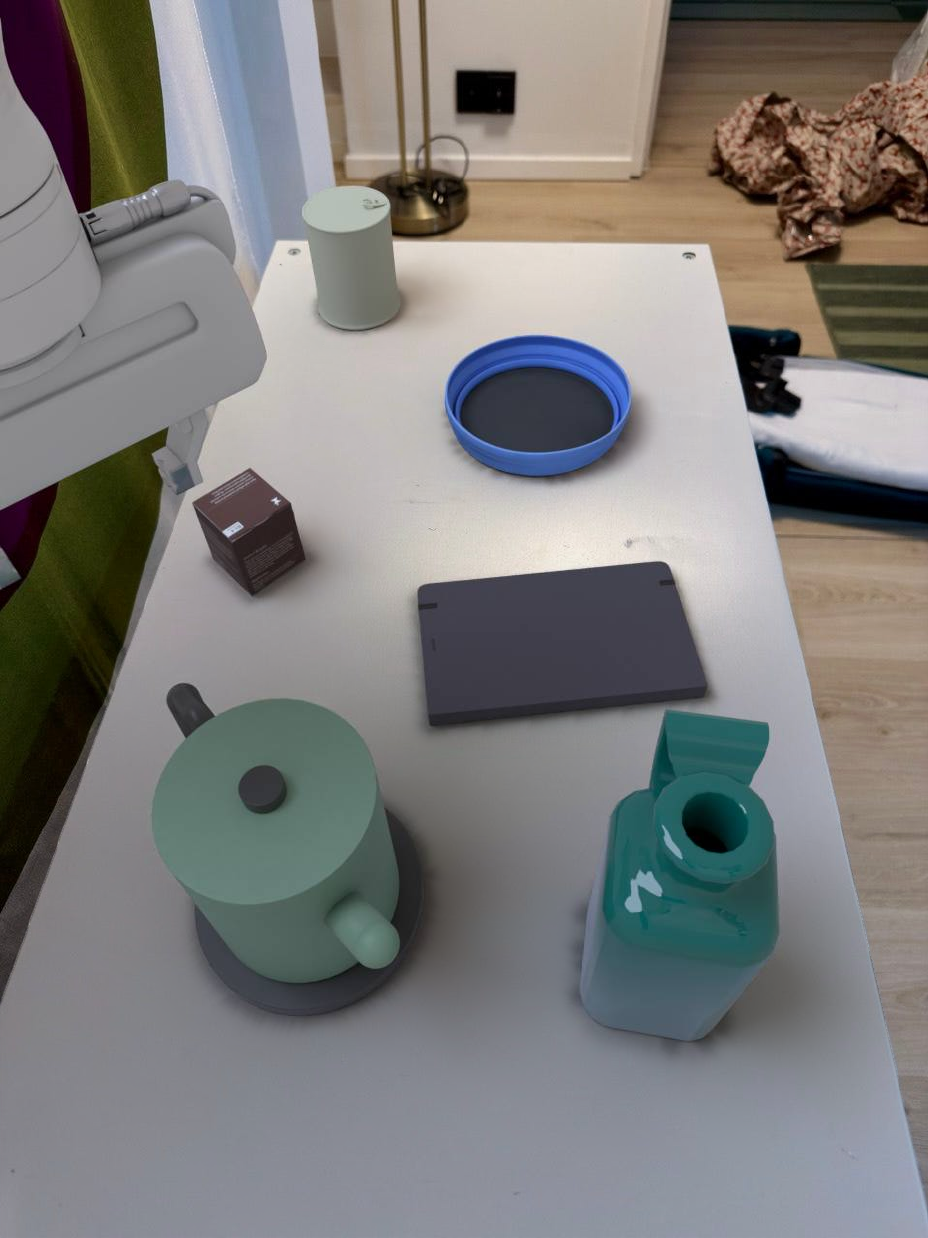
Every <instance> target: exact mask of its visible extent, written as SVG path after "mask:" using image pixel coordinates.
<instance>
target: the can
mask: <svg viewBox="0 0 928 1238" xmlns="http://www.w3.org/2000/svg"><path fill="white" fill-rule="evenodd" d="M301 215H302V216H301V217H302V219H303V223H304V228H305V233H306V238H307V243H308V244H307V245H308V248H309V254H310V259H311V265H312V271H313V277H314V282H315V288H316V295H317V298H318V299H317V301H318V306H317V307H318V313H319V316H320V317H321V319H322V320H323V321H324V322H325V323H326V324H328V325H330V326H332V327H335V328H338V329H341V330H345V331H363V330H364V331H366V330H369V329H370V330H371V329H374V328H376V327H380V326H382V325H384V324H386V323H387V322H389V321H390V320H392V319H394V318H395V316H396V315H397V314H398V312H399V310H400V307H401V299H400V294H399V290H398V280H397V272H396V263H395V262H396V261H395V252H394V243H393V242H394V240H393V229H392V218H391V203H390V200H389V198H388V197H387V196H386V195H385V193H383V192H381V191H379V190H377V189H375V188H372V187H368V186H363V185H342V186H341V185H340V186H335V187H331V188H327V189H324V190H322V191H319V192H317V193H316V194H314V195H312V196H310V197H309V199H307V201H306V202H305V203H304V204H303V206H302V209H301Z"/></svg>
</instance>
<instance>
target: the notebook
mask: <svg viewBox="0 0 928 1238" xmlns="http://www.w3.org/2000/svg"><path fill="white" fill-rule="evenodd" d="M417 609H418V618H419V628H420V639H421V649H422V660H423V671H424V683H425V694H426V704H427V716H428V723H429V726H434V725H435V726H436V725H446V724H454V723H464V722H473V721H482V720H492V719H493V720H494V719H503V718H513V717H523V716H532V715H540V714H541V715H542V714H550V713H551V714H552V713H558V712H559V713H560V712H568V711H569V712H570V711H579V710H588V709H599V708H607V707H608V708H609V707H619V706H626V705H638V704H647V703H655V702H656V703H657V702H665V701H674V700H684V699H685V700H686V699H694V698H703V697H705V695H706V692H707V689H708V683H707V680H706V676H705V673H704V670H703V667H702V663H701V661H700V658H699V655H698V651H697V648H696V645H695V642H694V639H693V635H692V631H691V630H690V626H689V623H688V619H687V617H686V613H685V611H684V608H683V604H682V600H681V597H680V595H679V591H678V588H677V584H676V581H675V579H674V576H673V572H672V570H671V567H670V566H669V564H668V563H667V562H664V561H661V560H655V561H653V560H652V561H645V562H634V563H625V564H624V563H623V564H614V565H603V566H593V567H583V568H582V567H581V568H573V569H563V570H553V571H543V572H534V573H533V572H531V573H521V574H511V575H510V574H509V575H501V576H500V575H499V576H491V577H482V578H471V579H460V580H451V581H441V582H431V583H424V584H421V585H420V586H419V587H418V589H417Z"/></svg>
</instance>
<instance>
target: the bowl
mask: <svg viewBox="0 0 928 1238" xmlns="http://www.w3.org/2000/svg"><path fill="white" fill-rule="evenodd" d="M631 406H632V389H631V383H630V381H629V378H628V375H627V373H626V372H625V370H624V368H622V366H621V365H620V364H619V363H618V362H617V361H616V360H615V359H614V358H613V357H611V356H610V355H608V354H607V353H606V352H604V351H603V350H601V349H600V348H599V349H598V348H597V347H596V346H593V345H590V344H587V343H585V342H582V341H579V340H576V339H572V338H568V337H563V336H557V335H550V334H549V335H548V334H523V335H516V336H511V337H505V338H502V339H498V340H495V341H492V342H489V343H487V344H485V345H484V344H483V345H482V346H480V347H478V348H476V349H474V350H473V351H471V352H470V353H468V354H466V355H465V356H464V357H463V358H461V360H459V361H458V363H457V364H456V365H455V366H454V367H453V368H452V370H451V372H450V373H449V374H448V377H447V380H446V384H445V389H444V408H445V413H446V415H447V418H448V421H449V423H450V425H451V428H452V431H453V434H454V436H455V438H456V439H457V441H458V443H459V444H460V445H461V446H462V448H463V449H464V450H465V451H466V452H467V453H468V454H469V455H470V456H472V457H473V458H474V459H476V460H477V461H478V462H481V463H483V464H484V465H486V466H488V467H490V468H493V469H495V470H499V471H502V472H506V473H509V474H515V475H521V476H536V477H539V476H541V477H542V476H553V475H560V474H565V473H569V472H572V471H575V470H579V469H581V468H584V467H586V466H588V465H590V464H592V463H593V462H595V461H596V460H598V459H600V458H601V457H603V455H605V454H606V453H607V452H608V451H609V450H610V449H611V448H612V447H613V446H614V445H615V443H616V442H617V440H618V438H619V436H620V434H621V432H622V431H623V429H624V427H625V425H626V423H627V421H628V418H629V416H630V412H631Z"/></svg>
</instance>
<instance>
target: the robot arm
mask: <svg viewBox="0 0 928 1238" xmlns="http://www.w3.org/2000/svg"><path fill="white" fill-rule="evenodd" d="M2 29H3V28H2V21H1V19H0V511H1V510H4V509H6V508H7V507H10V506H12V505H14V504H16V503H17V502H20V501H22V500H23V499H26V498H28V497H30V496H31V495H34V494H37V493H38V492H40V491H42V490H44V489H46V488H48V487H50V486H52V485H54V484H56V483H58V482H59V481H60V482H61V481H62V480H64V479H66V478H69V477H70V476H72V475H74V474H76V473H78V472H80V471H83V470H84V469H86V468H88V467H90V466H92V465H94V464H97V463H98V462H101V461H103V460H105V459H106V458H109V457H111V456H112V455H115V454H117V453H119V452H120V451H123V450H125V449H127V448H129V447H131V446H133V445H134V444H137V443H138V442H139V443H140V441H142V440H144V439H147V438H149V437H151V436H152V435H155V434H157V433H159V432H162V431H163V430H165V429H167V428H168V429H167V435H166V440H165V445H164V446H163V447H161V448H159V449H158V450H156V451H154V452H152V453H151V457H152V458H153V462H154V464H155V465H156V466H157V467H158V470H157V471H158V474H159V476H160V478H161V479H162V481H163V482H164V484H165V485H166V487H168V488H170V489H171V491H172V493H173V494H174V495H175V496H179V495H181V494H183V493H185V492H186V491H188V490H191V489H193V488H195V487H197V486H198V485H201V484H203V483H204V478H203V475H202V472H201V469H200V467H199V464H198V461H197V458H199V455H200V452H201V449H202V445H203V442H204V440H205V435H206V432H207V429H208V425H209V420H208V417H207V414H206V411H205V409H207V408H209V407H211V406H213V405H215V404H217V403H219V402H221V401H223V400H225V399H227V398H229V397H231V396H233V395H236V394H237V393H239V392H242V391H243V390H245V389H247V388H250V387H251V386H254V385H255V384H256V383H257V382H258V381H259V379H260V378H261V376H262V373H263V371H264V368H265V365H266V362H267V358H268V354H267V349H266V345H265V342H264V339H263V336H262V331H261V329H260V327H259V323H258V320H257V318H256V314H255V313H254V310H253V307H252V305H251V303H250V300H249V298H248V295H247V293H246V291H245V288H244V287H243V284H242V282H241V280H240V278H239V276H238V274H237V272H236V271H235V268H234V264H235V261H236V255H237V246H236V241H235V237H234V236H235V235H234V233H233V232H234V231H233V228H232V224H231V219H230V216H229V212H228V210H227V207H226V205H225V204H224V202H223V200H222V199H221V198H220V197H219V196H218V195H217V194H216V193H215V192H214V191H212V190H210V189H209V188H207V187H205V186H202V185H201V186H200V185H194V184H193V185H192V184H191V185H186V183H185V182H184V181H183V180H181V179H171V180H166V181H163V182H160V183H157V184H154V185H153V186H151V187H149V188H148V189H147V191H144V192H142V193H139V194H136V195H134V196H129V197H126V198H121V199H117V200H113V201H111V202H107V203H105V204H102V205H99V206H96V207H94V208H91V209H88V210H86V211H83V212H81V213H78V210H77V208H76V205H75V202H74V200H73V197H72V194H71V192H70V189H69V186H68V184H67V182H66V179H65V176H64V173H63V171H62V168H61V165H60V162H59V160H58V157H57V154H56V152H55V149H54V148H53V147H54V146H53V145H52V142H51V140H50V138H49V136H48V134H47V132H46V130H45V129H44V127H43V125H42V124H41V122H40V121H39V119H38V117H37V116H36V115H35V113H34V112H33V111H32V109H31V108H30V107H29V105H28V104H27V103H26V101H25V100H24V98H23V96H22V94H21V92H20V90H19V88H18V87H17V84H16V82H15V80H14V78H13V75H12V72H11V70H10V67H9V64H8V60H7V57H6V52H5V45H4V40H3V30H2ZM192 197H196V198H193V199H192ZM21 579H22V577H21V576H20V574H19V572H18V571H17V569H16V567H14V565H13V563H12V561H11V560H10V559H9V557H8V556H7V553H6V552H5V551H4V550H3V548H2V547H1V546H0V590H3V589H4V588H6V587H8V586H10V585H12V584H14V583H15V582H18V581H19V580H21Z"/></svg>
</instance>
